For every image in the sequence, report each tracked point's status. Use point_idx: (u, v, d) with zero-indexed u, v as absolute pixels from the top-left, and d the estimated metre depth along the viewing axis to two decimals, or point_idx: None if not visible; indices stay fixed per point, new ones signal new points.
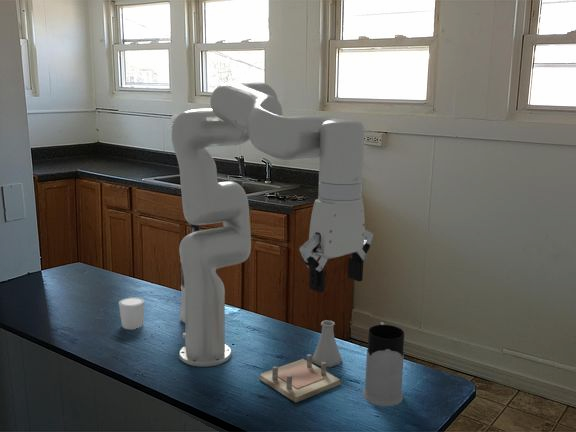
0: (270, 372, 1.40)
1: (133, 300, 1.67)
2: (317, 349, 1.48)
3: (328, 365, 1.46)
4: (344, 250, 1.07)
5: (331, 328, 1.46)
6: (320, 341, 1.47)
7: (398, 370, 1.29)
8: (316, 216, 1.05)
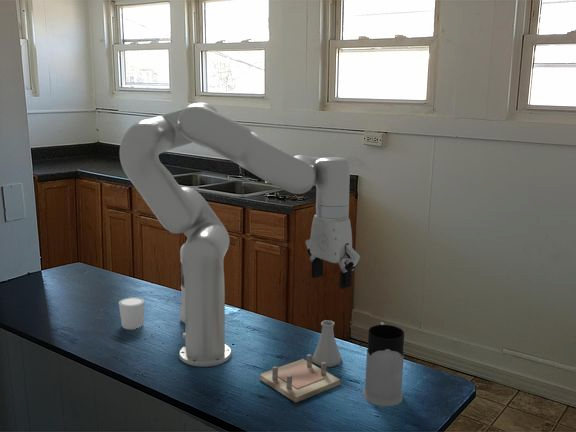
0: (270, 372, 1.40)
1: (133, 300, 1.67)
2: (317, 349, 1.48)
3: (328, 365, 1.46)
4: None
5: (331, 328, 1.46)
6: (320, 341, 1.47)
7: (398, 370, 1.29)
8: (344, 232, 1.38)
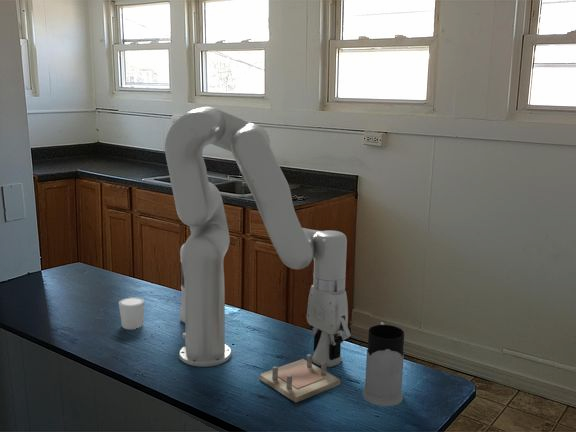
0: (270, 372, 1.40)
1: (133, 300, 1.67)
2: (317, 349, 1.48)
3: (328, 365, 1.46)
4: None
5: None
6: (320, 341, 1.47)
7: (398, 370, 1.29)
8: (340, 305, 1.42)
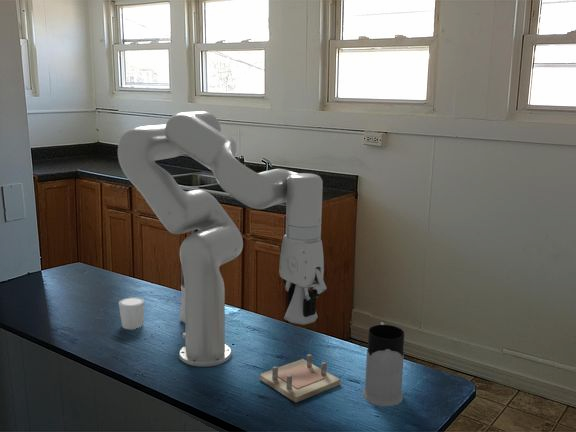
0: (270, 372, 1.40)
1: (133, 300, 1.67)
2: (290, 305, 1.34)
3: (302, 322, 1.32)
4: None
5: None
6: (294, 296, 1.34)
7: (398, 370, 1.29)
8: (315, 255, 1.28)
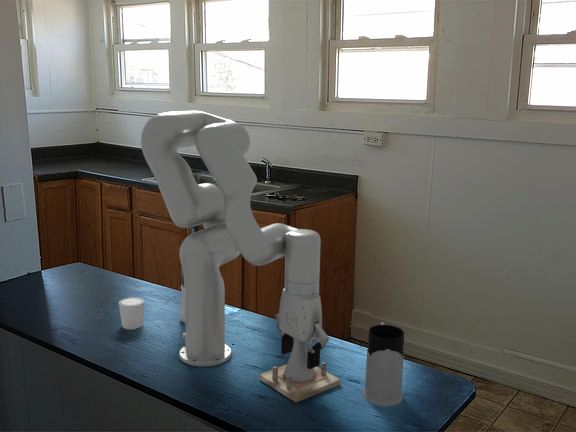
0: (270, 372, 1.40)
1: (133, 300, 1.67)
2: (289, 363, 1.37)
3: (300, 380, 1.35)
4: None
5: None
6: (292, 354, 1.37)
7: (398, 370, 1.29)
8: (313, 310, 1.31)
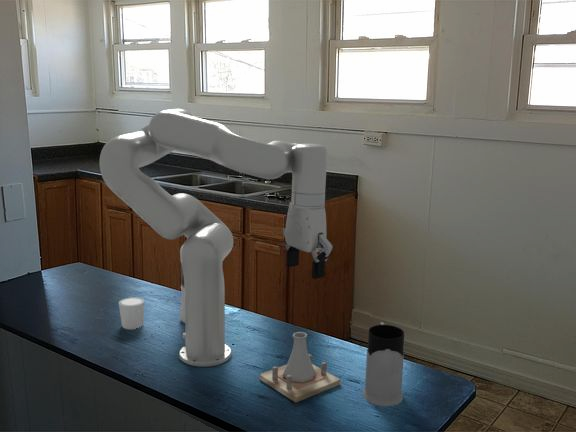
0: (270, 372, 1.40)
1: (133, 300, 1.67)
2: (289, 363, 1.37)
3: (300, 380, 1.35)
4: None
5: (303, 340, 1.36)
6: (292, 354, 1.37)
7: (398, 370, 1.29)
8: (318, 221, 1.34)
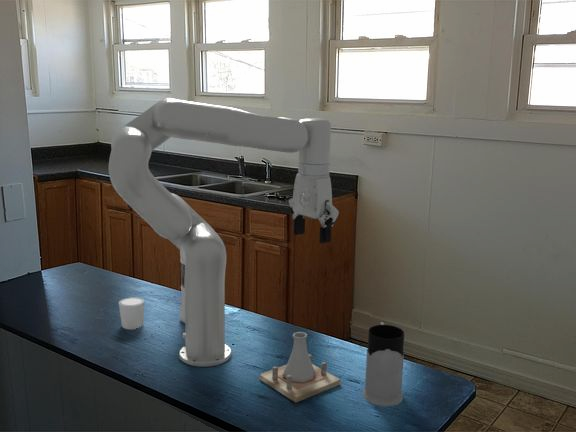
0: (270, 372, 1.40)
1: (133, 300, 1.67)
2: (289, 363, 1.37)
3: (300, 380, 1.35)
4: None
5: (303, 340, 1.36)
6: (292, 354, 1.37)
7: (398, 370, 1.29)
8: (324, 189, 1.45)
